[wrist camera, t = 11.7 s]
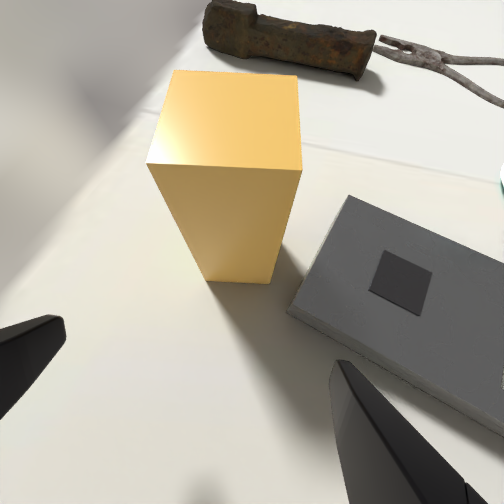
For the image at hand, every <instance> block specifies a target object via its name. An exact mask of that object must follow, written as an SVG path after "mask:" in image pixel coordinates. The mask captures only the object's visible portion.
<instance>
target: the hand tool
mask: <svg viewBox="0 0 504 504" xmlns="http://www.w3.org/2000/svg"><path fill="white" fill-rule="evenodd" d="M202 23H203V28H202V31H203V36H204V42H205V44H206V45H207V46H209V47H210V48H212V49H214V50H217V51H219V52H221V53H226V54H229V55H233V56H236V57H239V58H242V59H248V58H250V57H251V56H262V57H269V58H274V59H279V60H281V61H285V60H286V61H291V62H295V63H300V64H305V65H309V66H314V67H319V68H324V69H328V70H332V71H335V72H346V73H350V74H353V75H354V77H355V80H356V81H359V79H360V77H361V76H362V75H363V72H364V70H365V68H366V66H367V63H368V61H369V59H370V56H371V53H372V50H373V46H374V43H375V39H376V36H377V34H376V32H375V31H374V30H367V31H364V32H360V31H357V32H356V31H350V30H345V29H342V28H341V27H339V28H337V27H336V26H335V27H332V26H329V25H322V24H318V25H311V24H306V23H301V22H293V21H289V20H283V19H279V18H275V17H271V16H266V15H264V14H261V15H258V14H257V9H256V5H255V4H250V3H241V2H237V1H233V0H212V2H211V3H209V4H208V5H207V7H206V9H205V16H204V19H203V22H202Z"/></svg>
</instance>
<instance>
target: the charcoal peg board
mask: <svg viewBox="0 0 504 504" xmlns="http://www.w3.org/2000/svg"><path fill="white" fill-rule="evenodd" d="M287 313H289V314H290V315H292V316H294V317H296V318H297V319H299V320H301V321H303V322H304V323H306V324H308V325H310V326H311V327H313V328H315V329H317V330H318V331H320V332H322V333H323V334H325V335H327V336H329V337H330V338H332V339H334V340H336V341H337V342H339V343H341V344H343V345H344V346H346V347H348V348H350V349H351V350H353V351H355V352H356V353H358V354H360V355H362V356H363V357H365V358H367V359H369V360H370V361H372V362H374V363H376V364H377V365H379V366H381V367H383V368H384V369H386V370H388V371H389V372H391V373H393V374H395V375H396V376H398V377H400V378H402V379H403V380H405V381H407V382H409V383H410V384H412V385H414V386H416V387H417V388H419V389H421V390H422V391H424V392H426V393H428V394H429V395H431V396H433V397H435V398H436V399H438V400H440V401H442V402H443V403H445V404H447V405H449V406H450V407H452V408H454V409H455V410H457V411H459V412H461V413H462V414H464V415H466V416H468V417H469V418H471V419H473V420H475V421H476V422H478V423H480V424H482V425H483V426H485V427H487V428H488V429H490V430H492V431H494V432H495V433H497V434H499V435H501V436H502V437H504V390H503V389H501V382H502V374H503V366H504V263H502V262H499V261H497V260H495V259H493V258H490V257H488V256H486V255H484V254H481V253H479V252H477V251H475V250H472V249H470V248H468V247H466V246H463V245H461V244H459V243H457V242H454V241H452V240H450V239H448V238H445V237H443V236H441V235H439V234H436V233H434V232H432V231H430V230H427V229H425V228H423V227H421V226H418V225H416V224H414V223H412V222H409V221H407V220H405V219H402V218H400V217H398V216H396V215H393V214H391V213H389V212H387V211H384V210H382V209H380V208H378V207H375V206H373V205H371V204H369V203H366V202H364V201H362V200H360V199H357V198H355V197H353V196H351V195H348V197H347V198H346V200H345V202H344V203H343V205H342V207H341V208H340V210H339V212H338V213H337V215H336V217H335V219H334V221H333V223H332V225H331V227H330V229H329V230H328V232H327V234H326V236H325V238H324V240H323V242H322V244H321V246H320V248H319V250H318V252H317V254H316V256H315V258H314V259H313V261H312V263H311V265H310V267H309V269H308V271H307V273H306V275H305V277H304V279H303V281H302V283H301V285H300V287H299V288H298V290H297V292H296V294H295V296H294V298H293V300H292V302H291V304H290V306H289V308H288V310H287Z"/></svg>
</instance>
